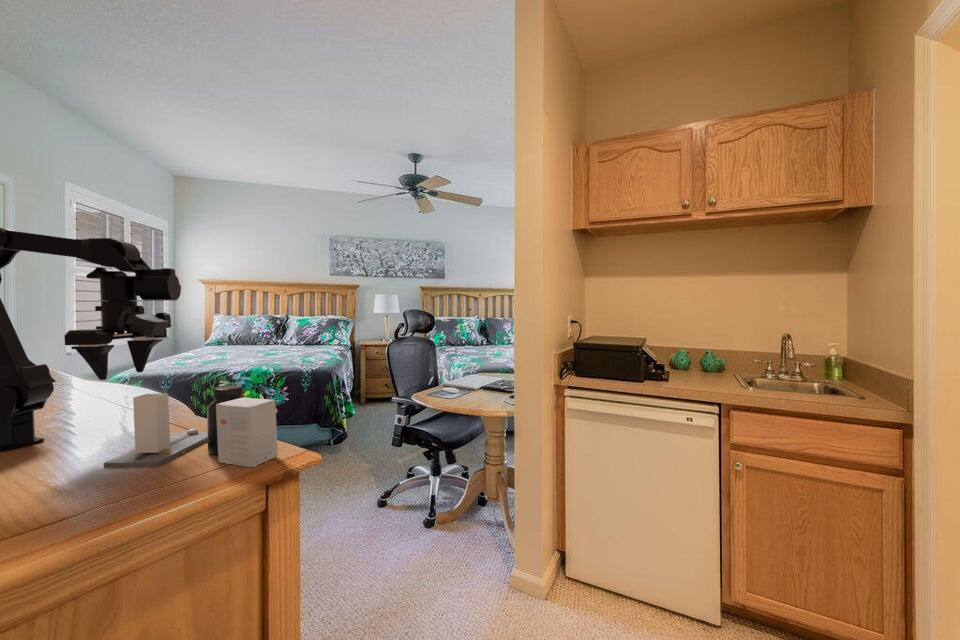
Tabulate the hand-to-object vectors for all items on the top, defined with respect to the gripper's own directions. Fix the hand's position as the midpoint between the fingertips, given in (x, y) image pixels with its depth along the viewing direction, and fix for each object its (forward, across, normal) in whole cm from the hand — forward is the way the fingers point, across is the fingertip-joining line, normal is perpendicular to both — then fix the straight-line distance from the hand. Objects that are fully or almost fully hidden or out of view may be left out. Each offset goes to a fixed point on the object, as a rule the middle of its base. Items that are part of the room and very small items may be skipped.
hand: (122, 375), depth 87 cm
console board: (+13, -8, -15) cm, 21 cm away
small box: (+13, -14, -33) cm, 38 cm away
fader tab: (+12, -12, -15) cm, 22 cm away
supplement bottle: (+13, -9, -27) cm, 31 cm away
